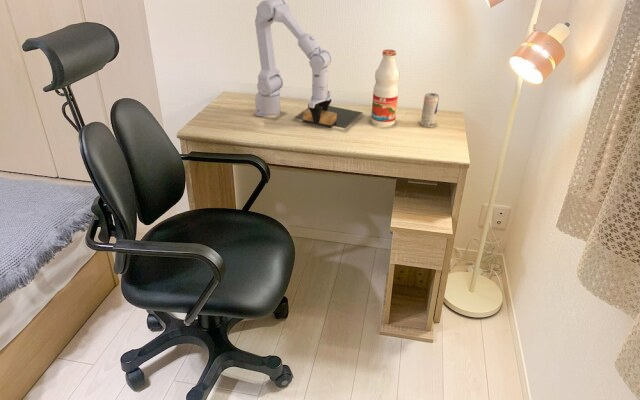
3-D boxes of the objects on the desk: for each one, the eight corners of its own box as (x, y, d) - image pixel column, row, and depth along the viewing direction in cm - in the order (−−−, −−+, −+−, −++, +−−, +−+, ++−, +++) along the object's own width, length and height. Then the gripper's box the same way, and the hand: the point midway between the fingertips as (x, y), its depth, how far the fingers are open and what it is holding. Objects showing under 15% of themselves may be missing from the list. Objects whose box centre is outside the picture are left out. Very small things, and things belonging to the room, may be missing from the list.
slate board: (294, 120, 189) (294, 117, 188) (314, 105, 202) (314, 103, 202) (345, 131, 181) (345, 128, 180) (363, 115, 194) (363, 112, 194)
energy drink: (436, 123, 188) (440, 94, 182) (432, 128, 184) (437, 98, 178) (422, 121, 190) (426, 91, 184) (419, 125, 186) (423, 96, 179)
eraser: (302, 121, 185) (302, 111, 182) (308, 117, 188) (308, 107, 186) (330, 127, 180) (331, 117, 178) (336, 123, 184) (336, 112, 182)
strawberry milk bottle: (398, 121, 190) (405, 49, 175) (390, 129, 182) (398, 56, 167) (375, 117, 193) (381, 46, 178) (367, 125, 186) (372, 52, 171)
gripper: (321, 92, 169) (320, 128, 177) (338, 81, 180) (336, 115, 188) (303, 89, 172) (303, 124, 179) (321, 78, 183) (320, 111, 190)
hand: (319, 119), depth 184 cm, fingers closed on eraser, 5 cm apart
